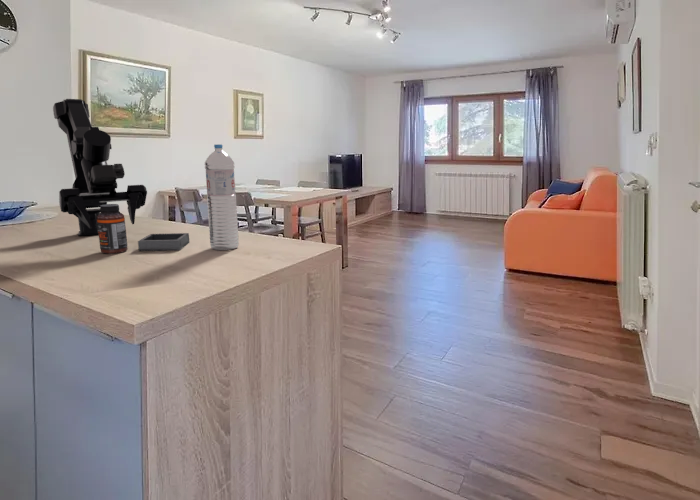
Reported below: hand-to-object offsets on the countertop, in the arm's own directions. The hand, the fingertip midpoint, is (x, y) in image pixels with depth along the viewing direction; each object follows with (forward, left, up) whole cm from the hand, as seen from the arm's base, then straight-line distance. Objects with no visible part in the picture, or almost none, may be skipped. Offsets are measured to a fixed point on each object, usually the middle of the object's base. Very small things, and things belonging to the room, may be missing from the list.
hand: (112, 225), depth 114 cm
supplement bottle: (-1, 0, -7) cm, 7 cm away
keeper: (-1, +11, -7) cm, 13 cm away
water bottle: (+7, +24, -7) cm, 26 cm away
